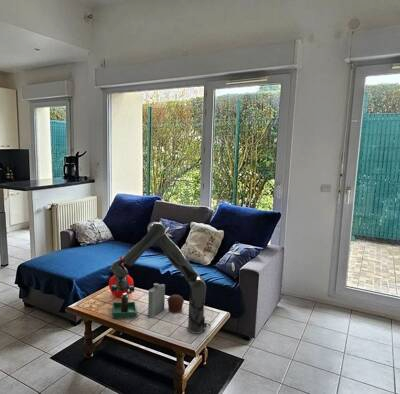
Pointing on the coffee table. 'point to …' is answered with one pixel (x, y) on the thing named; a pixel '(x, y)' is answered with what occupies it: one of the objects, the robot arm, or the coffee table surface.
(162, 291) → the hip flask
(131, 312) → the tray
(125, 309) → the pepper mill
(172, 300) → the muffin
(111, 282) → the vase
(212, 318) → the coffee table surface
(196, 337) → the coffee table surface
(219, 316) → the coffee table surface
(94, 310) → the coffee table surface
